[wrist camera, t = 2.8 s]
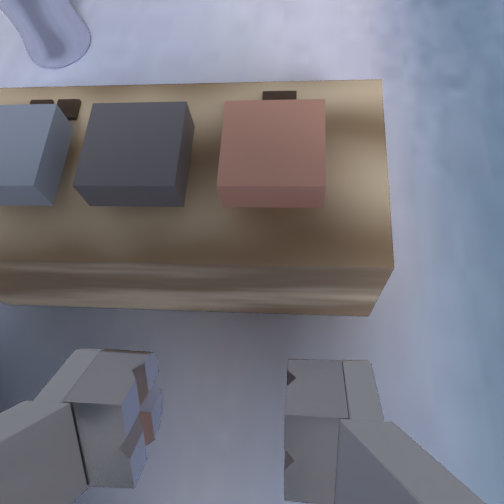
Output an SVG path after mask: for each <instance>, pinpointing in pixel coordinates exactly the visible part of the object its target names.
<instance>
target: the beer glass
mask: <svg viewBox="0 0 504 504" xmlns="http://www.w3.org/2000/svg"><path fill="white" fill-rule="evenodd" d="M0 10H1V11H2V12H3V13H4V14H5V15H6V16H7V18H8V19H9V20H10V21H11V23H12V24H13V25H14V27H15V28H16V30H17V31H18V33H19V35H20V37H21V39H22V41H23V43H24V46H25V48H26V50H27V53H28V55H29V56H30V58H31V60H32V61H33V62H34V63H36V64H37V65H39V66H41V67H45V68H60V67H64V66H67V65H69V64H71V63H73V62H75V61H77V60H78V59H79V58H80V57H82V56H83V55H84V53H85V52H86V51H87V49H88V47H89V45H90V41H91V36H90V32H89V30H88V28H87V26H86V25H85V24H84V22H83V21H82V20H81V18H80V17H79V16H78V15H77V13H76V12H75V10H74V9H73V7H72V6H71V4H70V2H69V0H0Z"/></svg>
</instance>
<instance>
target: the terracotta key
mask: <svg viewBox="0 0 504 504" xmlns="http://www.w3.org/2000/svg"><path fill="white" fill-rule="evenodd" d="M216 187H217V190H218V193H219V196H220V199H221V203H222V206H223V207H277V208H324V198H325V188H326V143H325V99H295V100H242V101H225V108H224V117H223V127H222V137H221V146H220V156H219V166H218V175H217V185H216Z"/></svg>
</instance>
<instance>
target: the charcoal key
mask: <svg viewBox="0 0 504 504" xmlns="http://www.w3.org/2000/svg"><path fill="white" fill-rule="evenodd" d="M194 128H195V126H194V123H193V120H192V117H191V114H190V111H189V107H188V104H187V101H185V102H132V103H93V105H92V109H91V113H90V117H89V121H88V125H87V129H86V133H85V137H84V141H83V145H82V149H81V153H80V157H79V162H78V166H77V170H76V174H75V178H74V182H73V187H74V188H75V189H76V190H77V192H78V193H79V194H80V195H81V196H82V197H83V199H84V200H85V201H86V202H87V203H88V204H89V206H143V207H184V204H185V196H186V189H187V181H188V174H189V166H190V158H191V151H192V143H193V136H194Z"/></svg>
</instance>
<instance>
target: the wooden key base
mask: <svg viewBox="0 0 504 504" xmlns="http://www.w3.org/2000/svg"><path fill="white" fill-rule="evenodd" d="M295 99H325V143H326V188H325V198H324V208H277V207H223V206H222V203H221V199H220V196H219V193H218V190H217V187H216V185H217V175H218V166H219V156H220V146H221V137H222V127H223V117H224V108H225V101H242V100H295ZM185 101H187V104H188V107H189V111H190V114H191V117H192V120H193V123H194V126H195V128H194V136H193V143H192V151H191V158H190V166H189V174H188V181H187V189H186V196H185V204H184V207H143V206H89V204H88V203H87V202H86V201H85V200H84V199H83V197H82V196H81V195H80V194H79V193H78V192H77V190H76V189H75V188H74V187H73V182H74V178H75V174H76V170H77V166H78V162H79V157H80V153H81V149H82V145H83V141H84V137H85V133H86V129H87V125H88V121H89V117H90V113H91V109H92V105H93V103H132V102H185ZM22 104H57V105H58V107H59V108H60V109H61V111H62V112H63V114H64V115H65V116H66V118H67V119H68V121H69V122H70V124H71V125H72V126H73V128H74V129H73V133H72V137H71V141H70V145H69V148H68V152H67V156H66V160H65V164H64V168H63V171H62V175H61V179H60V183H59V187H58V191H57V195H56V198H55V202H54V206H9V205H0V302H2V303H4V304H6V305H32V306H63V307H94V308H125V309H156V310H187V311H218V312H249V313H280V314H311V315H342V316H369V314H370V313H371V311H372V309H373V307H374V305H375V303H376V301H377V299H378V297H379V296H380V294H381V292H382V290H383V288H384V286H385V284H386V282H387V280H388V279H389V277H390V275H391V273H392V271H393V269H394V257H393V242H392V227H391V212H390V197H389V183H388V168H387V153H386V138H385V123H384V108H383V93H382V79H372V80H328V81H285V82H242V83H198V84H155V85H112V86H68V87H25V88H0V105H22Z"/></svg>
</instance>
